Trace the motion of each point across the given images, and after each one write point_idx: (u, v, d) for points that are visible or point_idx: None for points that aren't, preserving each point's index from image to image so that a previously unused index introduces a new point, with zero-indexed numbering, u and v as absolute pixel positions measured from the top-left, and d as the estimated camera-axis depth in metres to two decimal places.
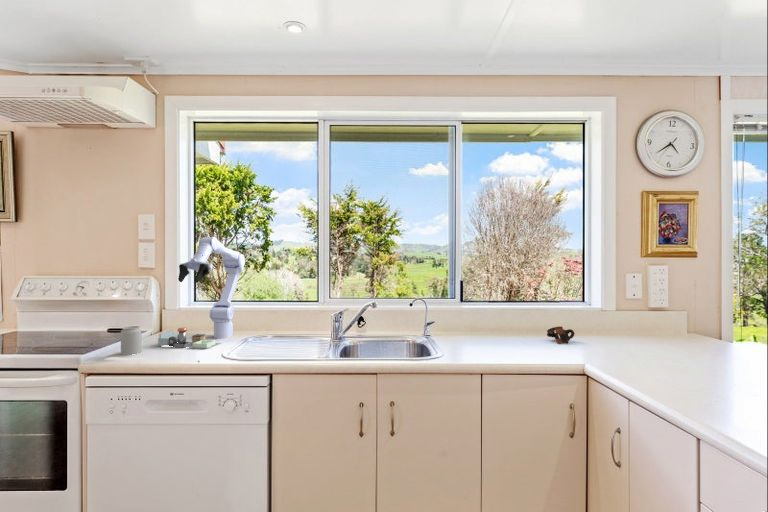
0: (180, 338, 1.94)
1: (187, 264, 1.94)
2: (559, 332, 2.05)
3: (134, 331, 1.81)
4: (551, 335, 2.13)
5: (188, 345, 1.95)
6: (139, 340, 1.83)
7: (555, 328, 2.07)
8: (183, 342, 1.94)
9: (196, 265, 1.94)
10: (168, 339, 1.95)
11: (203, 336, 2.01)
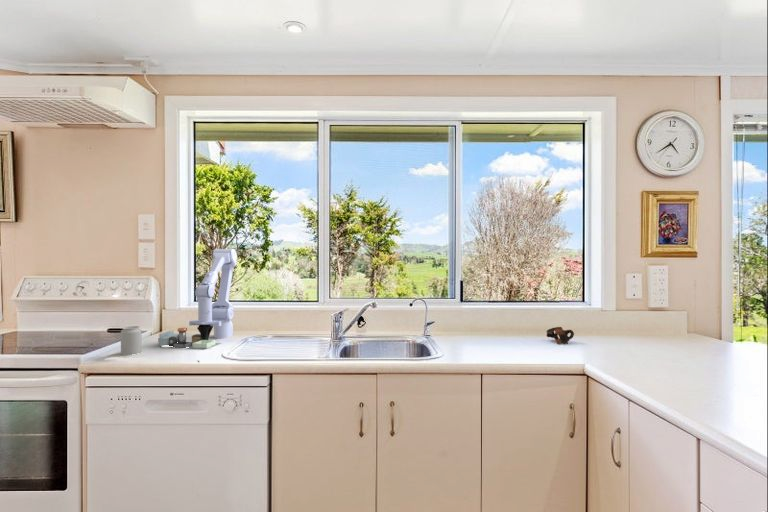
0: (180, 338, 1.94)
1: None
2: (559, 332, 2.04)
3: (134, 331, 1.81)
4: (550, 335, 2.12)
5: (188, 345, 1.95)
6: (139, 340, 1.83)
7: (555, 328, 2.06)
8: (183, 342, 1.94)
9: None
10: (168, 339, 1.95)
11: None
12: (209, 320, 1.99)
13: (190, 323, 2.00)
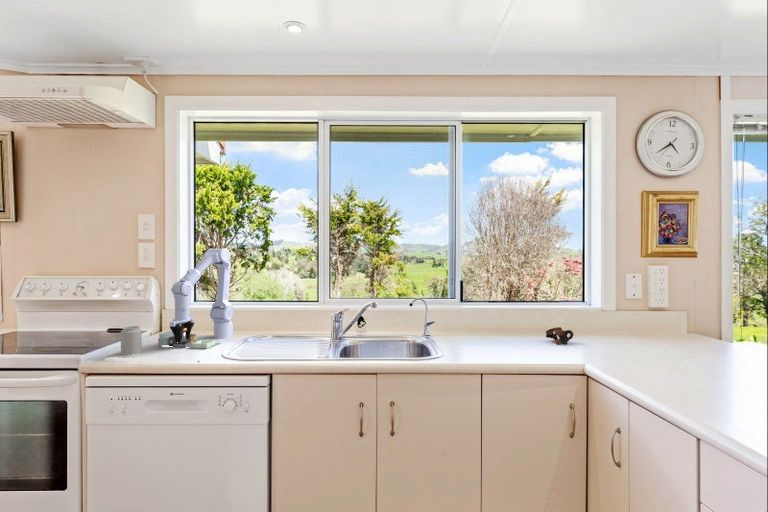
0: None
1: None
2: (558, 333, 2.03)
3: (134, 331, 1.81)
4: (550, 336, 2.11)
5: (188, 345, 1.95)
6: (139, 340, 1.83)
7: (554, 329, 2.05)
8: (183, 342, 1.94)
9: None
10: (168, 339, 1.95)
11: (193, 336, 2.02)
12: (176, 318, 1.93)
13: None
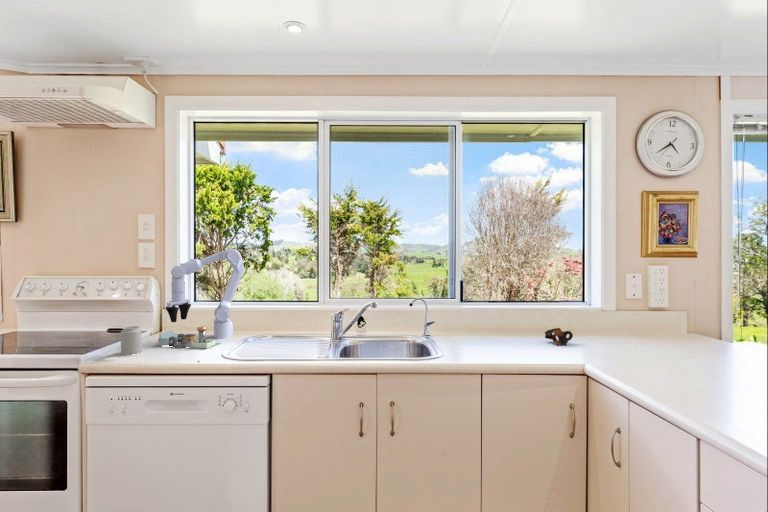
0: (200, 337, 1.93)
1: None
2: (558, 334, 2.01)
3: (134, 331, 1.81)
4: (549, 337, 2.09)
5: (188, 345, 1.95)
6: (139, 340, 1.83)
7: (553, 330, 2.03)
8: (203, 341, 1.94)
9: None
10: (168, 339, 1.95)
11: (193, 336, 2.02)
12: (173, 300, 2.06)
13: None
